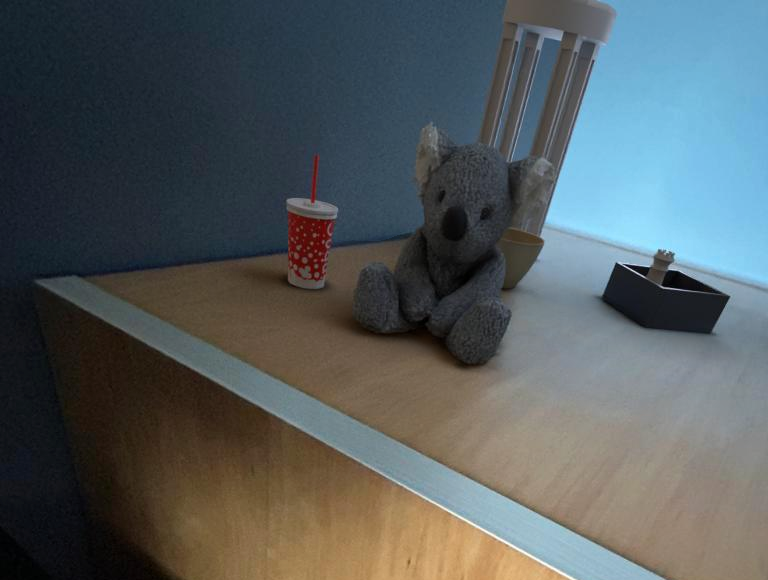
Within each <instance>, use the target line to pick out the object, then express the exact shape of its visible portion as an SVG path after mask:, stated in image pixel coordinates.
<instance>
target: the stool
mask: <svg viewBox="0 0 768 580" xmlns="http://www.w3.org/2000/svg"><path fill="white" fill-rule="evenodd" d="M503 11H504V12H503V15H502V21H501V25H502V26H503V27H502V32H501V36H500V40H499V45H498V50H497V53H496V58H495V62H494V66H493V67H494V68H493V72H492V75H491V80H490V84H489V89H488V92H487V97H486V101H485V106H484V109H483V115H482V119H481V124H480V128H479V132H478V135H477V136H478V137H477V141H476V142H477V143H482V144H483V146H484V145H489V146H490V147H495V148H496V143H497V138H498V135H499V131H500V127H501V122H502V118H503V115H504V111H505V107H506V103H507V98H508V94H509V91H510V85H511V82H512V77H513V73H514V70H515V65H516V63H517V62H516V61H517V58H518V54H519V49H520V45H521V42H522V38H523V33H525V37H524V42H523V47H522V50H521V54H520V59H519V63H518V67H517V69H516V70H517V71H516V74H515V79H514V82H513V86H512V91H511V94H510V98H509V102H508V107H507V111H506V114H505V119H504V123H503V127H502V130H501V135H500V139H499V141H498V142H499V143H498V147H497V150H498V151H499V152H500V153H501V154H502V156H503V157H504V159H506V160H507V162H508V163H511V162H513V158H514V153H515V151H516V147H517V143H518V139H519V136H520V132H521V128H522V124H523V120H524V117H525V113H526V109H527V105H528V103H529V102H528V101H529V97H530V93H531V90H532V87H533V83H534V82H533V81H534V79H535V75H536V71H537V67H538V64H539V60H540V56H541V52H542V48H543V46H544V41H545V38H546V39H551V40H556V41H559V42H560V43H559V47H558V50H557V54H556V58H555V61H554V64H553V69H552V72H551V75H550V79H549V83H548V86H547V88H546V89H547V90H546V92H545V93H546V94H545V96H544V101H543V104H542V107H541V111H540V115H539V118H538V122H537V125H536V129H535V132H534V136H533V139H532V143H531V146H530V151H529V154H528V157H529V156H530V157H532V156H537V158H538V159H539V158H541V157H542V156H543V157H545V156H546V157H545V160H547V161H548V162H550V163H551V164H553V165H554V166H555V168H557V169H556V170H558V171H557V174H556V176H557V177H556V179H555V182H556V184H552V185H551V187H550V188H551V190H550V192H551V193H550V195H551V196H550V197H547V198H546V200H547V201H546V202H547V204H544V205H543V206H542V207H541V209H540V212H539V213H538V214H535V215H534V216H533V217H532V218H531V219H529V220H527V221H526V222H525V223H524V224H522V226H514V227H511V228H515V229H519V230H523V231H526V232H529V233H532V234H535V235H537V236H539V237H541V236H542V232H543V229H544V226H545V223H546V220H547V216H548V214H549V211H550V208H551V204H552V201H553V198H554V195H555V193H556V188H557V185H558V182H559V179H560V176H561V172H562V169H563V166H564V163H565V159H566V156H567V153H568V150H569V147H570V143H571V141H572V137H573V134H574V130H575V128H576V125H577V121H578V118H579V116H580V115H579V114H580V111H581V109H582V105H583V102H584V99H585V96H586V92H587V89H588V87H589V83H590V80H591V76H592V73H593V71H594V67H595V63H596V61H597V57H598V54H599V51H600V48H601V47H603V46H607V45H608V44H609V40H610V38H611V35H612V31H613V28H614V25H615V21H616V19H617V13H618V12H617V10H616V9H615V8H614V7H613V6H612V5H610V4H609V3H606V2H603V1H601V0H506V4H505V6H504V10H503Z"/></svg>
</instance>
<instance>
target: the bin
mask: <svg viewBox="0 0 768 580" xmlns="http://www.w3.org/2000/svg"><path fill="white" fill-rule="evenodd" d="M649 270H650V265H644V264H643V265H642V264H636V263H627V262H620V261H616V262H615V263H614V266H613V269H612V271H611V274H610V276H609V279H608V281H607V283H606V286H605V288H604V291H603V294H602V295H601V299H602V300H604V301H606V302H607V303H608V304H609V305H612V306H613V307H614V308H616V309H617V310H619V311H620V312H621V313H623V314H624V315H626V316H628V317H629V318H631V319H632V320H634V321H635V322H637V323H638V324H639V325H641V326H643V327H644V328H650V329H661V330H671V331H683V332H693V333H704V334H712V332H713V330H714V328H715V327H716V324H718V323H717V322H718V321H719V319H720V317H721V315H722V314H723V312H724V310H725V308H726V306H727V304H728V302H729V300H730V299H731V295H729V294H727V293H725V292H723V291H721V290H719V289H717V288H715V287H713V286H711V285H709V284H707V283H705V282H703V281H701V280H700V279H697V278H695V277H693V276H692V275H689V274H687V273H686V272H683V271H681V270H680V269H674V268H668V272H666V274H665V276H664V279H663V282H662V285H661V286H660V285H658V284H657V283H655V282H653V281H651V280H650V279H648V278H646V276H647V274H648V272H649Z"/></svg>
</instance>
